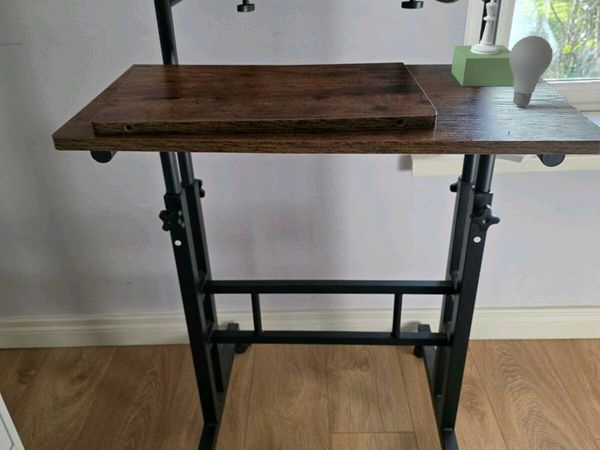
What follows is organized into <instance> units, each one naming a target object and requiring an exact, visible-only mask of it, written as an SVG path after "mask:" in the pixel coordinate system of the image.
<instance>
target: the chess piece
mask: <svg viewBox="0 0 600 450" xmlns="http://www.w3.org/2000/svg"><path fill="white" fill-rule="evenodd" d="M498 7H499V3H498V2H496V0H490V1H489V2H487V3H485V9H486V16H484V17H483V20H484V21H486V22H485V26H484V31H483V34H482V37H481V39H480V41H479V43H476V44H472V45H471V46H472V47H471V48H472V49H471V52H473V53H476V54H481V55H493V54H497V53H499V47H498V46H496V45H497V44H493V43H494V42H493V41H492V34H493V33H492V32H493V21H497V17H496V16H494V15H495V14H496V11H497V9H498Z"/></svg>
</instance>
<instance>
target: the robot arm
mask: <svg viewBox="0 0 600 450" xmlns="http://www.w3.org/2000/svg"><path fill="white" fill-rule="evenodd" d="M435 1H436V2H438V3H441V4H454V3H457V2H459V1H460V0H435Z"/></svg>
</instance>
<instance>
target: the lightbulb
mask: <svg viewBox="0 0 600 450" xmlns="http://www.w3.org/2000/svg"><path fill="white" fill-rule="evenodd" d="M510 51H511V52H510V56H509V62H510V66H511V69H512V72H513V76H514V83H513V98H512V102H513V104H514V105H516V107H518V108H524V107H526V106H529V104H530V103H531V101H532V95H533V93H534V92H535V90H536V87H537V84H538V82H539V80H540V78H541V77H542V76H543V74H544V73H545V72H546V71H547V69H548V68H549V67H550V65H551V63H552V60H553V56H554V55H553V54H554V53H553V48H552V45H551V44H550V42H549V41H548V40H546V39H545V38H544V37H542V36H538V35H529V36H525V37H523V38H521V39H519V40H518V41H516V42H515V44H514V45H513V46H512V48H511V50H510Z"/></svg>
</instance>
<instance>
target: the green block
mask: <svg viewBox="0 0 600 450" xmlns="http://www.w3.org/2000/svg"><path fill="white" fill-rule="evenodd" d="M495 45H496V46H498V47H499V53H497V54H493V55H481V54H476V53H473V52H471V49H472V48H471V47H472V46H473V45H454V48H453V55H452V63H451V71H450V72H451V74H452V75H453V77H454V78H455V79H456V81H457V82H458V83H459V85H460V86H461V87H514V76H513V72H512V69H511V66H510V62H509V56H510V52H511V50H509V49H508V48H507V47H506V46H505V45H502V44H495Z"/></svg>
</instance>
